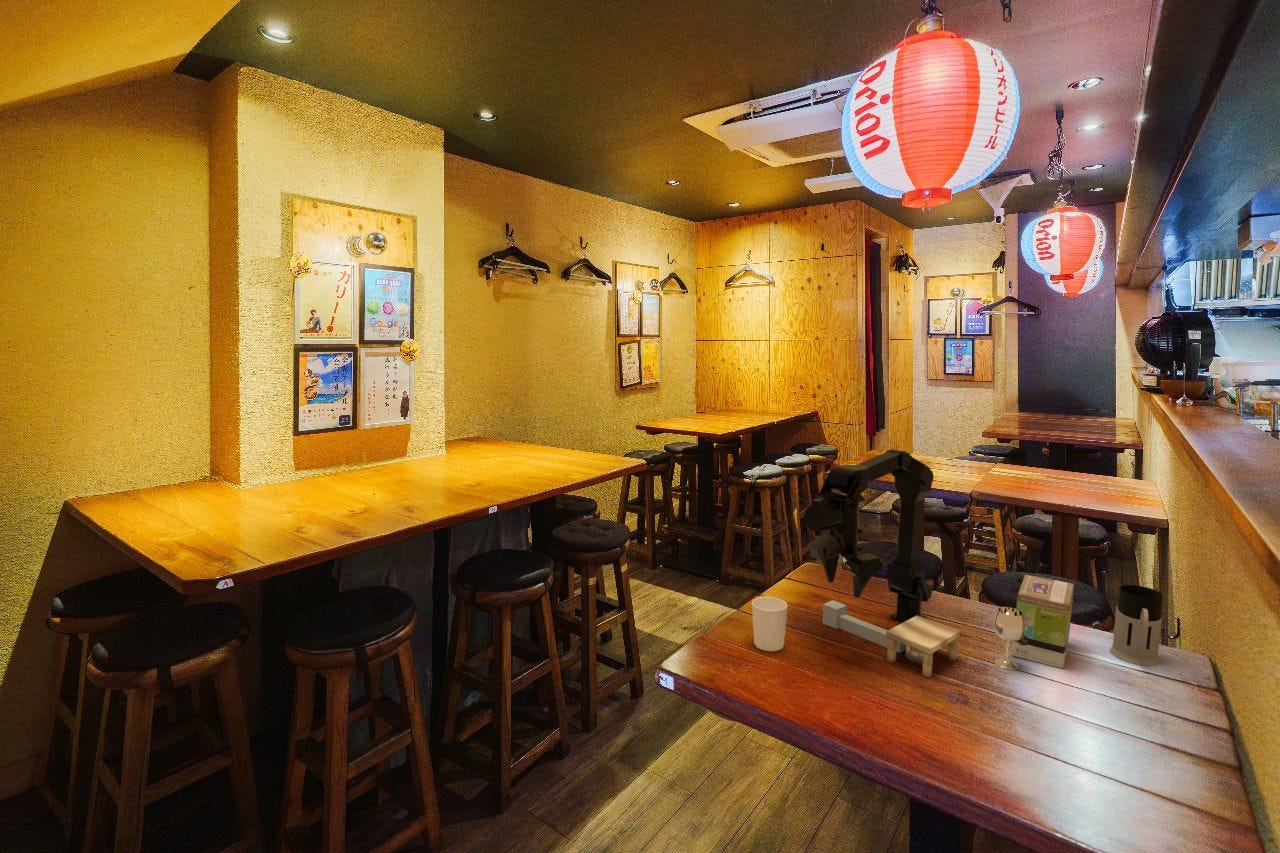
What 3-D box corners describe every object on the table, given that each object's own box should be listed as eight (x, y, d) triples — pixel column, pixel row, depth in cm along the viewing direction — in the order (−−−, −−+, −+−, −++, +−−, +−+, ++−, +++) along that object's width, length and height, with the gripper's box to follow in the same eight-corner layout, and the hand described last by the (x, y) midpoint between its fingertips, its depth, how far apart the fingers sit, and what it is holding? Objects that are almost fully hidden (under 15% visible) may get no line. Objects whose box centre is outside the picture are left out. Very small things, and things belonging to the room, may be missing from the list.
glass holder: (1156, 652, 139) (1163, 588, 137) (1167, 682, 127) (1175, 612, 125) (1107, 643, 144) (1113, 580, 142) (1114, 670, 132) (1120, 603, 130)
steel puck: (912, 650, 142) (913, 637, 141) (934, 658, 138) (935, 645, 137) (900, 657, 139) (901, 644, 138) (922, 666, 135) (923, 652, 134)
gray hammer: (832, 618, 158) (832, 600, 157) (907, 648, 142) (908, 628, 142) (822, 623, 155) (823, 604, 155) (897, 654, 140) (898, 633, 139)
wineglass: (991, 667, 134) (995, 613, 132) (990, 655, 139) (994, 603, 137) (1022, 673, 131) (1027, 619, 130) (1021, 661, 136) (1025, 608, 135)
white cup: (784, 637, 148) (784, 597, 147) (788, 653, 140) (789, 611, 139) (750, 636, 149) (750, 596, 148) (752, 652, 141) (753, 610, 140)
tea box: (1065, 670, 132) (1071, 603, 130) (1010, 656, 138) (1015, 592, 136) (1069, 643, 144) (1074, 581, 142) (1018, 631, 150) (1023, 572, 148)
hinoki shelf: (915, 641, 145) (916, 615, 145) (959, 658, 138) (960, 630, 137) (884, 659, 137) (886, 631, 137) (929, 678, 130) (930, 648, 129)
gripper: (790, 516, 146) (789, 580, 148) (841, 540, 128) (840, 612, 131) (830, 511, 149) (829, 573, 152) (885, 533, 132) (883, 603, 134)
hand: (843, 589), depth 142 cm, fingers open, 9 cm apart
